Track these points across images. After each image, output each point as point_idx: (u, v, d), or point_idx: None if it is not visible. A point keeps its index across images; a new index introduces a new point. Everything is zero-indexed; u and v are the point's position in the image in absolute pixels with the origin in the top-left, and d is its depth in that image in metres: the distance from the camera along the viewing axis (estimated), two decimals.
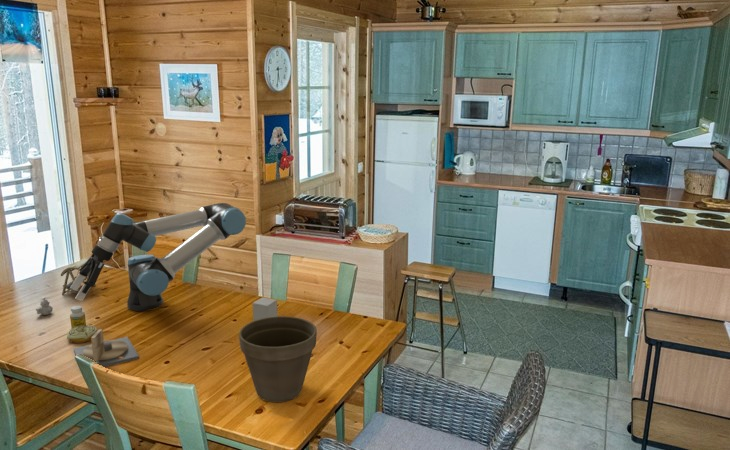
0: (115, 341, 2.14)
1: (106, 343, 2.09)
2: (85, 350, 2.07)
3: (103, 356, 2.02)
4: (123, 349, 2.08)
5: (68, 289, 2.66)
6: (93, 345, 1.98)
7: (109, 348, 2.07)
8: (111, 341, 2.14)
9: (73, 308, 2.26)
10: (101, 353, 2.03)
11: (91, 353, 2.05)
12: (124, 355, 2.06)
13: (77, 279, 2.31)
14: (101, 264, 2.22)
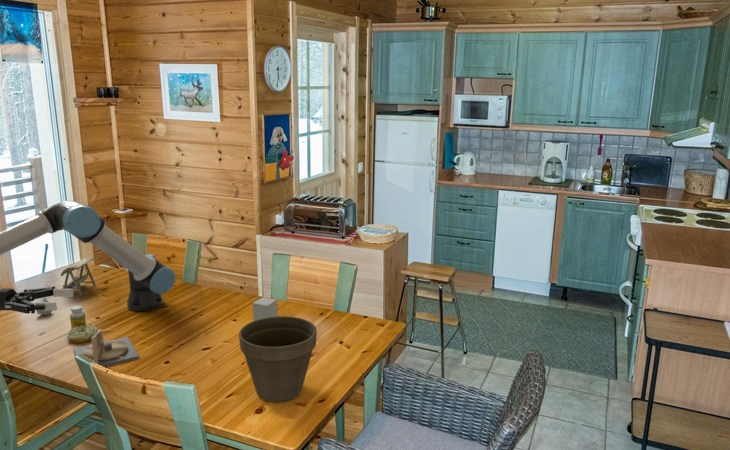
0: (115, 341, 2.14)
1: (106, 343, 2.09)
2: (85, 350, 2.07)
3: (103, 356, 2.02)
4: (123, 349, 2.08)
5: None
6: (93, 345, 1.98)
7: (109, 348, 2.07)
8: (111, 341, 2.14)
9: (73, 308, 2.26)
10: (101, 353, 2.03)
11: (91, 353, 2.05)
12: (124, 355, 2.06)
13: (59, 295, 2.02)
14: (5, 306, 1.88)
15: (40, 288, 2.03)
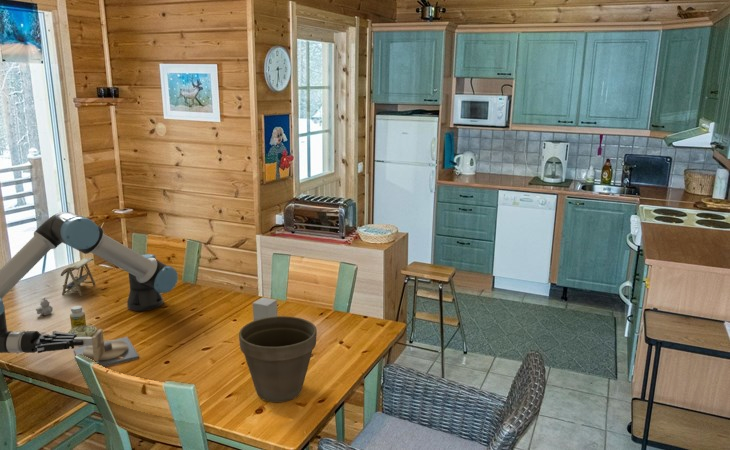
0: (115, 341, 2.14)
1: (106, 343, 2.09)
2: (85, 350, 2.07)
3: (103, 356, 2.02)
4: (123, 349, 2.08)
5: (68, 289, 2.66)
6: (93, 345, 1.98)
7: (109, 348, 2.07)
8: (111, 341, 2.14)
9: (73, 308, 2.26)
10: (101, 353, 2.03)
11: (91, 353, 2.05)
12: (124, 355, 2.06)
13: None
14: (39, 349, 1.93)
15: (65, 333, 2.03)
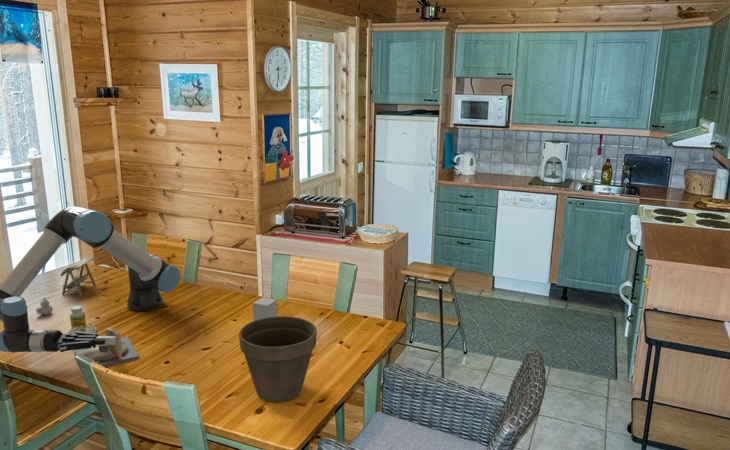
0: None
1: None
2: (89, 356, 2.02)
3: None
4: (123, 342, 2.13)
5: (68, 289, 2.66)
6: (119, 340, 2.02)
7: None
8: None
9: (73, 308, 2.26)
10: None
11: (101, 355, 2.04)
12: (124, 355, 2.06)
13: None
14: (61, 348, 1.94)
15: (86, 332, 2.04)
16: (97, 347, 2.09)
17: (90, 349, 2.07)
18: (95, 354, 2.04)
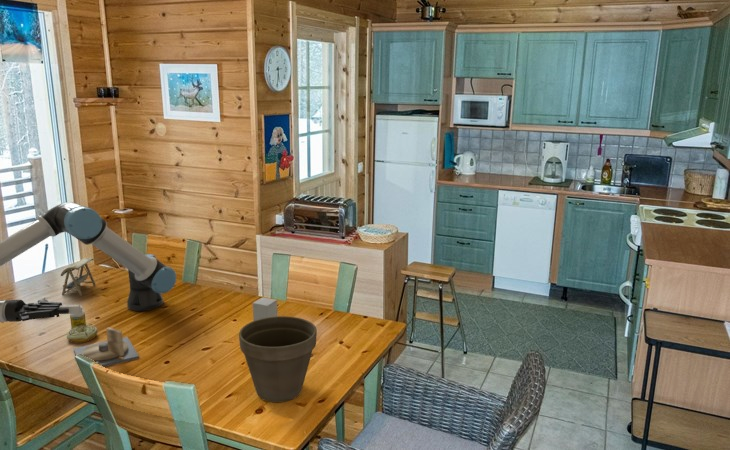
0: (98, 343, 2.13)
1: (103, 344, 2.09)
2: (90, 356, 2.02)
3: None
4: None
5: (68, 289, 2.66)
6: (120, 339, 2.02)
7: None
8: (94, 344, 2.11)
9: None
10: None
11: (102, 355, 2.04)
12: (124, 355, 2.06)
13: None
14: (23, 317, 1.90)
15: (50, 302, 2.00)
16: (96, 347, 2.09)
17: (90, 350, 2.07)
18: (96, 354, 2.04)
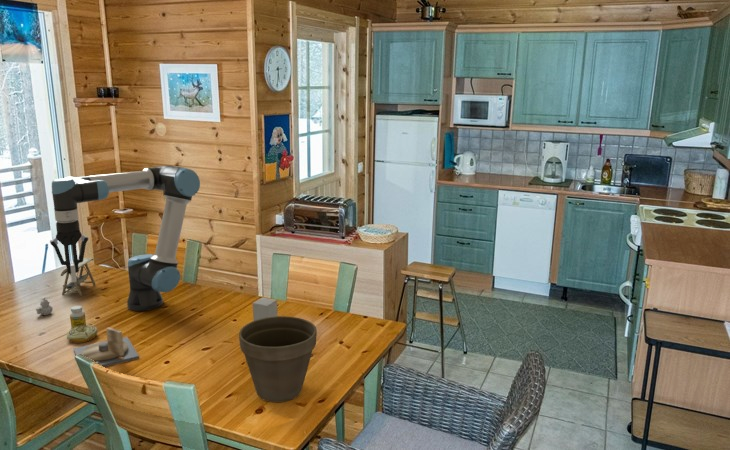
0: (98, 343, 2.13)
1: (103, 344, 2.09)
2: (90, 356, 2.02)
3: None
4: None
5: (68, 289, 2.66)
6: (120, 339, 2.02)
7: None
8: (94, 344, 2.11)
9: (73, 308, 2.26)
10: None
11: (102, 355, 2.04)
12: (124, 355, 2.06)
13: None
14: None
15: None
16: (96, 347, 2.09)
17: (90, 350, 2.07)
18: (96, 354, 2.04)
